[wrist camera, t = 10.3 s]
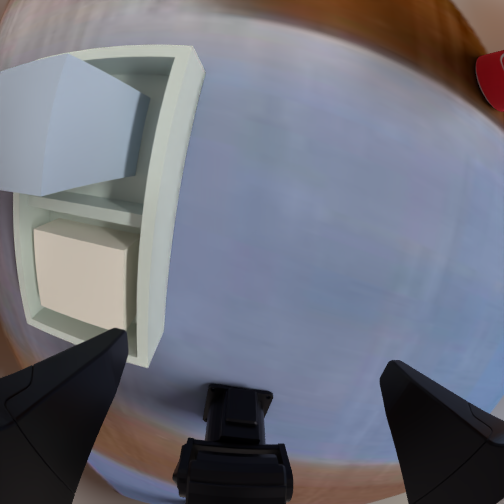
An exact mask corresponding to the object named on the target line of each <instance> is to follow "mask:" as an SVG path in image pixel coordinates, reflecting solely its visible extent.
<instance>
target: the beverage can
mask: <svg viewBox="0 0 504 504" xmlns="http://www.w3.org/2000/svg"><path fill="white" fill-rule="evenodd" d="M476 76H477V81H478V84H479V87H480V89H481V91H482V93H483V95H484V96H485V98H486V99H487V101H488V102H489V103H490V104H491V105H492V107H494V108H495V109H496V110H498V111H500V112H504V50H502V51H498V52H494V53H490V54H486V55H482V56H480V57H478V59H477V61H476Z"/></svg>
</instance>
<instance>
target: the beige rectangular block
mask: <svg viewBox="0 0 504 504" xmlns="http://www.w3.org/2000/svg"><path fill="white" fill-rule="evenodd" d="M139 245H140V234H135V233H130V232H125V231H120V230H116V229H111V228H106V227H101V226H96V225H91V224H87V223H82V222H77V221H72V220H67V219H63V218H58V219H56V220H53V221H51V222H48V223H46V224H44V225H41V226H39V227H37V228H34V250H35V263H36V272H37V281H38V288H39V295H40V301H41V306H44V307H46V308H49V309H51V310H54V311H56V312H59V313H62V314H64V315H67V316H70V317H72V318H75V319H78V320H81V321H83V322H86V323H89V324H92V325H95V326H98V327H101V328H105V329H108V330H110V329H112V328H119V329H123V330H125V331H126V330H127V329H128V327H129V326H130V324H131V322H132V321H133V319H134V318H135V316H136V315H137V277H138V259H139Z"/></svg>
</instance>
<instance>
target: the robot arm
mask: <svg viewBox="0 0 504 504" xmlns="http://www.w3.org/2000/svg"><path fill="white" fill-rule="evenodd" d="M128 353H129V349H128V338H127V332H126V331H125V330H123V329H119V328H112V329H110V330H108V331H106V332H103V333H101V334H99V335H97V336H95V337H93V338H91V339H88V340H86V341H84V342H82V343H80V344H78V345H75V346H73V347H71V348H69V349H67V350H65V351H62V352H60V353H58V354H56V355H54V356H51V357H49V358H47V359H45V360H43V361H40V362H38V363H36V364H34V365H33V366H32V365H31V366H29V367H27V368H25V369H23V370H20V371H18V372H16V373H13V374H11V375H8V376H5V377H2V378H0V504H72V502H73V499H74V496H75V494H74V493H75V492H76V489H77V487H78V484H79V481H80V478H81V475H82V473H83V470H84V468H85V465H86V463H87V460H88V457H89V455H90V452H91V450H92V447H93V445H94V442H95V440H96V438H97V435H98V433H99V431H100V428H101V426H102V423H103V421H104V419H105V417H106V414H107V412H108V410H109V408H110V405H111V403H112V401H113V399H114V396H115V394H116V391H117V388H118V385H119V382H120V379H121V376H122V373H123V370H124V367H125V364H126V361H127V358H128ZM380 387H381V392H382V397H383V402H384V407H385V412H386V416H387V420H388V424H389V427H390V430H391V434H392V437H393V441H394V445H395V448H396V452H397V456H398V460H399V464H400V468H401V472H402V476H403V480H404V485H405V489H406V494H407V498H408V503H409V504H504V421H503V420H501V419H499V418H497V417H495V416H493V415H491V414H489V413H487V412H485V411H483V410H481V409H480V408H478V407H476V406H474V405H473V404H471V403H469V402H467V401H466V400H464V399H463V398H461V397H459V396H458V395H456V394H454V393H453V392H451V391H449V390H448V389H446V388H444V387H443V386H441V385H440V384H438V383H436V382H435V381H433V380H431V379H430V378H428V377H426V376H425V375H423V374H422V373H420V372H418V371H417V370H415V369H413V368H412V367H410V366H409V365H407V364H405V363H404V362H402V361H400V360H391V361H389V362H388V364H387V366H386V368H385V369H384V371H383V373H382V375H381V377H380ZM212 388H214V389H212ZM272 399H273V393H272V392H267V391H258V390H250V389H243V388H236V387H229V386H223V385H217V384H210V385H209V387H208V393H207V398H206V404H205V410H204V415H203V420H204V421H205V422H207V427H206V435H205V441H204V440H196V439H194V438H188V440H187V444H185V445H183V446H182V449H181V455H180V459H179V462H178V464H177V466H176V469H175V471H174V473H173V481H174V482H175V483H176V484H177V488H178V489H179V496H180V497H185V498H186V504H286V502H289V501H290V500H291V498H292V494H293V474H292V470H291V466H290V463H289V459H288V456H287V452H286V448H285V445H284V444H275V445H269V444H265V428H264V417H265V415H266V413H267V411H268V408H269V406H270V404H271V402H272Z"/></svg>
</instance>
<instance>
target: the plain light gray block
mask: <svg viewBox="0 0 504 504" xmlns="http://www.w3.org/2000/svg"><path fill="white" fill-rule="evenodd" d="M149 102H150V97H148V96H146V95H144V94H143V93H141V92H139V91H138V90H136V89H134V88H133V87H131V86H129V85H127V84H126V83H124V82H122V81H120V80H118V79H117V78H115V77H113V76H111V75H109V74H107V73H106V72H104V71H102V70H100V69H98V68H96V67H94V66H92V65H90V64H88V63H86V62H85V61H83V60H81V59H79V58H77V57H74V56H72V55H70V54H68V53H67V54H62V55H57V56H52V57H48V58H44V59H40V60H36V61H32V62H29V63H25V64H22V65H19V66H15V67H12V68H9V69H6V70H3V71H1V72H0V190H2V191H9V192H15V193H22V194H28V195H35V196H45V195H48V194H52V193H56V192H60V191H64V190H68V189H72V188H76V187H81V186H85V185H90V184H94V183H99V182H104V181H109V180H114V179H120V178H125V177H131V176H135V174H136V168H137V161H138V155H139V150H140V144H141V139H142V134H143V129H144V124H145V120H146V115H147V111H148V106H149Z"/></svg>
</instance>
